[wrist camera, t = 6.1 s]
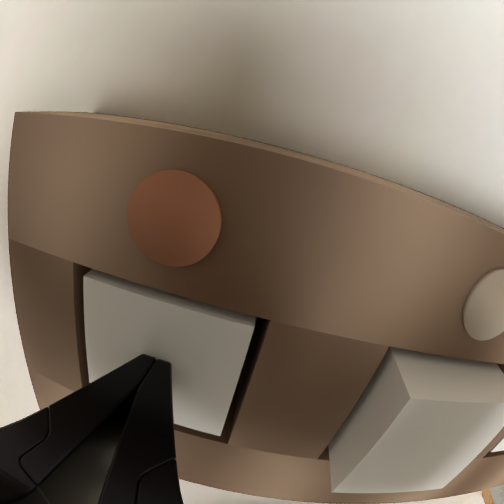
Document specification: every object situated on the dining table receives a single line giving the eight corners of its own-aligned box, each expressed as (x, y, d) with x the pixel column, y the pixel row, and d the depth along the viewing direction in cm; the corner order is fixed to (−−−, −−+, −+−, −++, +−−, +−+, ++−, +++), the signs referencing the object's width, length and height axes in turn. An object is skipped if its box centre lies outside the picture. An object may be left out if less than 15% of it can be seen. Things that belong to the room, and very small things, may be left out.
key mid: (483, 346, 9) (523, 402, 6) (423, 431, 10) (442, 488, 7) (380, 325, 9) (410, 398, 6) (326, 423, 10) (331, 492, 7)
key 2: (263, 274, 10) (254, 327, 7) (233, 376, 12) (220, 436, 9) (131, 238, 10) (83, 276, 7) (124, 342, 12) (90, 392, 9)
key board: (598, 281, 10) (640, 315, 6) (500, 438, 14) (520, 482, 10) (92, 112, 10) (10, 112, 6) (83, 370, 14) (42, 426, 10)
